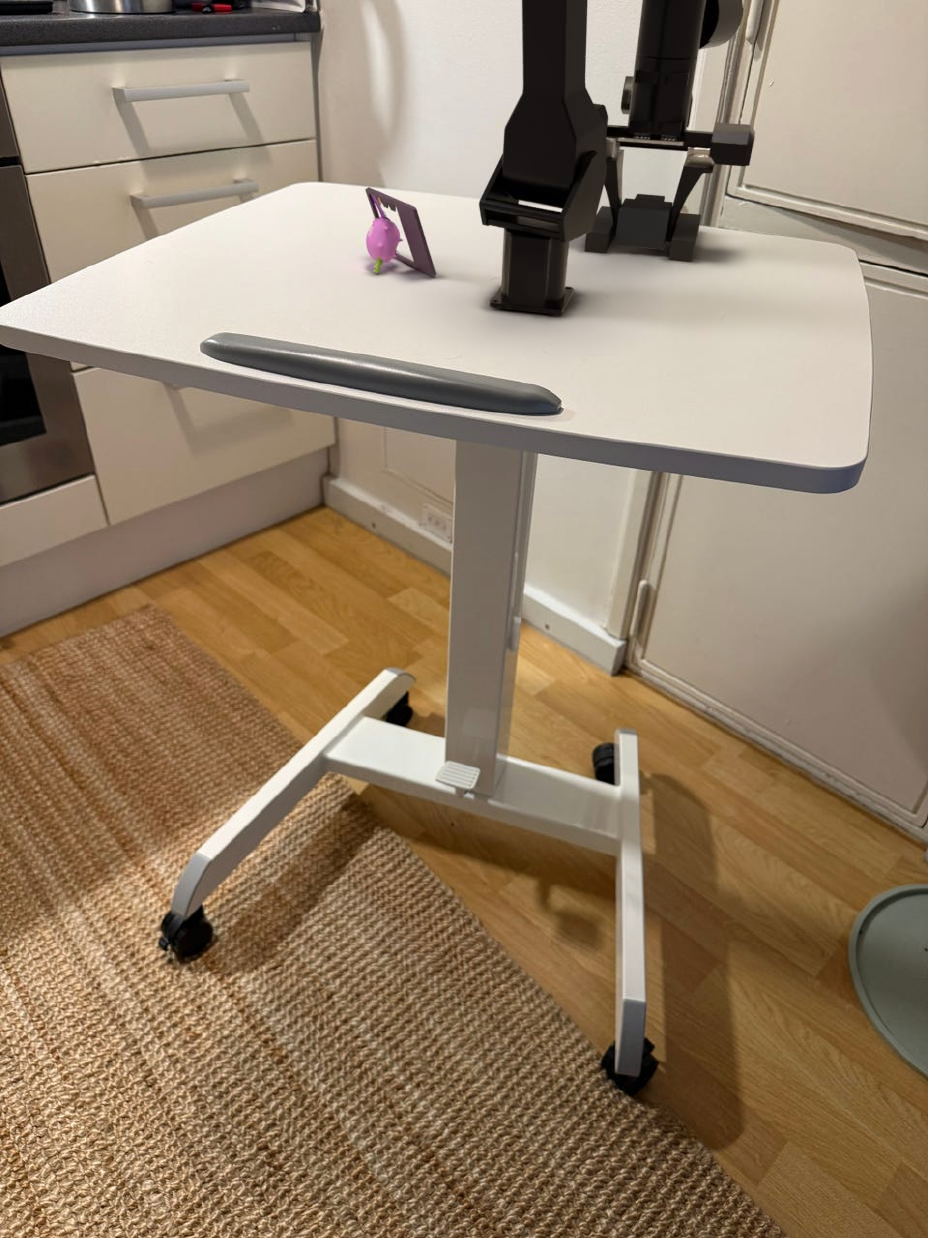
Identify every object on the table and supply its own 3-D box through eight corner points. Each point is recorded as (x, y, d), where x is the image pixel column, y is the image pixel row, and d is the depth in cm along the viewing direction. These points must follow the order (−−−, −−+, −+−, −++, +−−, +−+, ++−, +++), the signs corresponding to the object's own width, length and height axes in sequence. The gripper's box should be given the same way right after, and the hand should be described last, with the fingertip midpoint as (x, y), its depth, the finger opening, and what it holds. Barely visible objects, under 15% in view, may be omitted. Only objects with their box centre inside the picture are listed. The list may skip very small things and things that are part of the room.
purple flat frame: (422, 203, 81) (374, 182, 87) (375, 230, 80) (329, 208, 86) (443, 271, 86) (395, 248, 92) (399, 298, 85) (354, 272, 90)
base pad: (691, 261, 91) (694, 241, 90) (584, 251, 93) (586, 230, 92) (697, 233, 100) (701, 214, 98) (599, 224, 102) (601, 205, 101)
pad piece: (663, 249, 92) (668, 213, 90) (614, 245, 93) (618, 209, 91) (669, 231, 98) (674, 196, 96) (623, 226, 99) (627, 192, 97)
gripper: (769, 51, 89) (736, 219, 98) (581, 42, 92) (568, 205, 102) (769, 64, 80) (733, 247, 90) (562, 53, 84) (549, 230, 93)
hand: (642, 230), depth 94 cm, fingers closed on pad piece, 5 cm apart
